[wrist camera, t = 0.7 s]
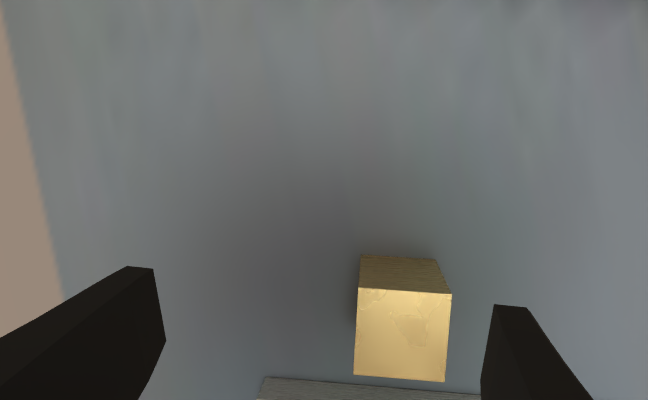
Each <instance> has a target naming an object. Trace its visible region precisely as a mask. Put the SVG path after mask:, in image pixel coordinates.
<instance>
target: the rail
mask: <svg viewBox="0 0 648 400" xmlns="http://www.w3.org/2000/svg"><path fill="white" fill-rule="evenodd" d="M257 400H481V395H471V394H460V393H448V392H436V391H425V390H413V389H401V388H390V387H378V386H367V385H355V384H343V383H332V382H320V381H308V380H297V379H285V378H273V377H266V378H265V380H264V383H263V385H262V387H261V390H260V392H259V395H258V397H257Z"/></svg>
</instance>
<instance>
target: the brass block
mask: <svg viewBox="0 0 648 400" xmlns="http://www.w3.org/2000/svg"><path fill="white" fill-rule="evenodd" d="M451 298H452V294H451V292H450V290H449V287H448V285H447V283H446V281H445V279H444V277H443V275H442V273H441V271H440V268H439V266H438V264H437V262H436V260H435V259H420V258H405V257H390V256H375V255H361V261H360V274H359V286H358V303H357V320H356V337H355V355H354V372H353V374H354V375H366V376H378V377H389V378H401V379H413V380H425V381H437V382H444V381H445V369H446V357H447V345H448V333H449V322H450V310H451Z"/></svg>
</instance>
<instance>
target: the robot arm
mask: <svg viewBox="0 0 648 400" xmlns="http://www.w3.org/2000/svg"><path fill="white" fill-rule="evenodd" d="M165 342H166V337H165V331H164V326H163V320H162V315H161V310H160V304H159V299H158V293H157V288H156V282H155V277H154V272H153V269H151V268H141V267H132V266H126V267H124V268H122V269H120V270H118V271H117V272H115V273H113V274H111V275H109V276H107V277H106V278H104V279H102V280H101V281H99V282H97V283H95V284H94V285H92V286H90V287H89V288H87V289H85V290H84V291H82V292H80V293H79V294H77V295H75V296H73V297H72V298H70V299H68V300H67V301H65V302H63V303H62V304H60V305H58V306H56V307H55V308H53V309H51V310H50V311H48V312H46V313H44V314H43V315H41V316H39V317H38V318H36V319H34V320H32V321H31V322H29V323H27V324H25V325H23V326H21V327H19V328H17V329H16V330H14V331H12V332H10V333H8V334H7V335H5V336H3V337H1V338H0V400H138V398H139V397H140V395H141V393H142V392H143V390H144V388H145V387H146V385H147V383H148V381H149V379H150V377H151V375H152V372H153V370H154V368H155V366H156V364H157V361H158V359H159V357H160V354H161V352H162V350H163V347H164V345H165ZM480 384H481V400H593V398H592V397H591V396H590V395H589V393H588V392H587V391H586V389H585V388H584V387H583V385H582V384H581V383H580V382H579V380H578V379H577V378H576V376H575V375H574V374H573V372H572V371H571V370H570V368H569V367H568V366H567V364H566V363H565V362H564V360H563V359H562V358H561V356H560V355H559V353H558V352H557V350H556V349H555V348H554V346H553V345H552V343H551V342H550V340H549V339H548V338H547V336H546V335H545V333H544V332H543V330H542V329H541V327H540V326H539V324H538V323H537V321H536V320H535V318H534V317H533V315H532V314H531V312H530V311H529V310H528V309H527V308H526V307H516V306H507V305H497V304H494V307H493V313H492V318H491V324H490V329H489V335H488V341H487V346H486V352H485V357H484V363H483V368H482V374H481V379H480Z"/></svg>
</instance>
